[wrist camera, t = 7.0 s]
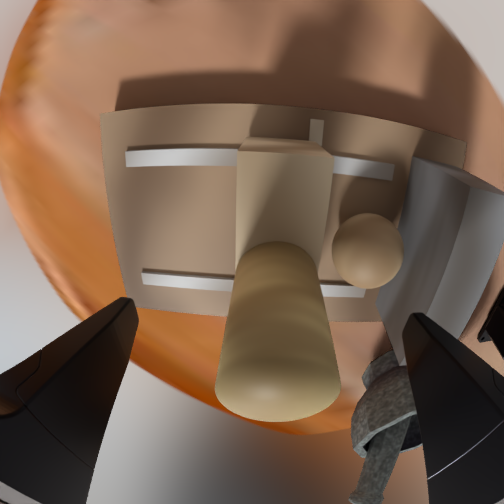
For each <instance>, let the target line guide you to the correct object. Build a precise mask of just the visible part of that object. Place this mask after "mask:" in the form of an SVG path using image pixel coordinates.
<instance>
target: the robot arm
mask: <svg viewBox="0 0 504 504" xmlns="http://www.w3.org/2000/svg"><path fill="white" fill-rule="evenodd" d="M138 323H139V318H138V314H137V310H136V306H135V302H134V300H133V299H132V298H127V297H120V298H119V299H117V300H115V301H114V302H112V303H111V304H109V305H107V306H106V307H104V308H103V309H101V310H100V311H98V312H97V313H95V314H93V315H92V316H90V317H89V318H87V319H86V320H84V321H83V322H81V323H80V324H78V325H76V326H75V327H73V328H72V329H70V330H69V331H68V332H66V333H65V334H63V335H62V336H60V337H58V338H57V339H55V340H54V341H52V342H51V343H49V344H48V345H46V346H45V347H43V348H42V350H41V349H40V350H39V351H37V352H36V353H34V354H33V355H31V356H30V357H28V358H27V359H25V360H24V361H22V362H21V363H19V364H17V365H16V366H14V367H12V368H11V369H9V370H7V371H5V372H3V373H2V374H0V504H86V501H87V497H88V492H89V488H90V484H91V480H92V476H93V472H94V468H95V464H96V461H97V457H98V454H99V450H100V447H101V443H102V439H103V437H104V433H105V430H106V427H107V424H108V421H109V417H110V414H111V411H112V408H113V405H114V402H115V399H116V396H117V393H118V390H119V387H120V385H121V382H122V379H123V376H124V374H125V371H126V368H127V365H128V362H129V358H130V354H131V350H132V346H133V342H134V338H135V335H136V331H137V327H138ZM477 339H478V341H479V342H486V341H493V343H494V345H495V346H496V348H497V350H498V351H499V353H500V355H501V356H502V358H503V359H504V289H503V291H502V293H501V295H500V297H499V299H498V301H497V303H496V305H495V307H494V309H493V311H492V313H491V314H490V316H489V318H488V320H487V322H486V323H485V325H484V327H483V329H482V330H481V332H480V334H479V335H478V337H477ZM402 341H403V346H404V352H405V359H406V365H407V371H408V377H409V381H410V385H411V390H412V394H413V398H414V403H415V407H416V412H417V417H418V422H419V427H420V433H421V439H422V445H423V450H424V458H425V465H426V473H427V479H428V480H427V484H428V494H429V504H504V377H503V376H502V375H501V374H500V373H498V372H497V371H496V370H495V369H494V368H492V367H491V366H490V365H489V364H488V363H486V362H485V361H484V360H483V359H481V358H480V357H479V356H478V355H477V354H475V353H474V352H473V351H472V350H470V349H469V348H468V347H467V346H465V345H464V344H463V343H462V342H460V341H459V340H458V339H456V338H455V337H454V336H453V335H451V334H450V333H449V332H447V331H446V330H445V329H444V328H442V327H441V326H440V325H438V324H437V323H436V322H434V321H433V320H432V319H430V318H429V317H428V316H426V315H425V314H424V313H422V312H413V313H411V314H410V315H409V317H408V320H407V322H406V324H405V326H404V328H403V331H402Z"/></svg>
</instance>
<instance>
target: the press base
mask: <svg viewBox="0 0 504 504" xmlns="http://www.w3.org/2000/svg"><path fill="white" fill-rule="evenodd" d="M100 126H101V142H102V155H103V166H104V175H105V183H106V191H107V199H108V205H109V212H110V218H111V224H112V230H113V235H114V241H115V246H116V251H117V256H118V260H119V265H120V269H121V274H122V278H123V282H124V286H125V290H126V294H127V298H132V299H133V300H134V302H135V306H136V307H139V308H147V309H155V310H163V311H172V312H182V313H191V314H202V315H213V316H226V317H227V316H228V310H229V305H230V299H231V294H232V289H233V283H234V278H235V261H236V186H237V151H238V149H239V148H240V146H241V145H242V143H243V142H244V140H245V139H246V137H264V138H280V139H294V140H305V141H315V142H316V143H318V144H319V145H320V146H321V147H322V148H323V149H325V150H326V151H327V152H328V153H329V154H330V155H332V156H333V157H334V158H335V160H334V168H333V177H332V185H331V192H330V200H329V207H328V214H327V221H326V227H325V233H324V240H323V246H322V252H321V257H320V263H319V269H318V278H319V282H320V286H321V290H322V295H323V299H324V303H325V308H326V312H327V317H328V321H335V322H377V321H382V322H383V324H384V326H385V329H386V331H387V334H388V337H389V339H390V342H391V344H392V347H393V350H394V352H395V355H396V358H397V360H398V363H399V366H403V365H406V359H405V352H404V346H403V341H402V331H403V328H404V326H405V324H406V322H407V320H408V317H409V315H410V314H411V313H413V312H422V313H424V314H425V315H426V316H428V317H429V318H430V319H432V320H433V321H434V322H436V323H437V324H438V325H440V326H441V327H442V328H444V329H445V330H446V331H447V332H449V333H450V334H451V335H453V336H454V337H455V338H456V339H458V338H459V336H460V335H461V333H462V331H463V330H464V328H465V326H466V324H467V322H468V321H469V319H470V317H471V315H472V313H473V311H474V309H475V307H476V305H477V303H478V301H479V299H480V297H481V295H482V293H483V291H484V289H485V287H486V284H487V282H488V280H489V278H490V275H491V273H492V271H493V268H494V266H495V263H496V261H497V258H498V256H499V253H500V250H501V248H502V245H503V242H504V192H503V191H501V190H500V189H498V188H496V187H494V186H493V185H491V184H489V183H487V182H485V181H484V180H482V179H480V178H478V177H476V176H474V175H472V174H470V173H468V172H466V171H464V170H463V164H464V159H465V153H466V147H467V142H465V141H462V140H459V139H456V138H453V137H450V136H446V135H443V134H440V133H436V132H433V131H429V130H426V129H422V128H418V127H414V126H410V125H406V124H402V123H397V122H393V121H388V120H384V119H379V118H374V117H368V116H363V115H357V114H351V113H345V112H338V111H331V110H323V109H315V108H305V107H295V106H282V105H265V104H186V105H170V106H157V107H147V108H137V109H129V110H122V111H115V112H108V113H102V114H100ZM363 213H372V214H377V215H380V216H382V217H384V218H386V219H388V220H389V221H390V222H392V223H393V224H394V225H395V227H396V228H397V229H398V231H399V233H400V235H401V237H402V240H403V245H404V257H403V262H402V265H401V267H400V269H399V271H398V273H397V274H396V275H395V276H394V278H393V279H391V280H390V281H389V282H388V283H386V284H384V285H382V286H380V287H377V288H372V289H364V288H359V287H356V286H353V285H351V284H349V283H348V282H347V281H345V280H344V279H343V278H342V277H341V276H340V275H339V273H338V272H337V270H336V268H335V266H334V263H333V260H332V242H333V239H334V236H335V234H336V232H337V230H338V229H339V227H340V226H341V225H342V224H343V223H344V222H345V221H346V220H348V219H349V218H351V217H353V216H355V215H358V214H363Z"/></svg>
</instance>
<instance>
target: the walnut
mask: <svg viewBox="0 0 504 504" xmlns="http://www.w3.org/2000/svg"><path fill="white" fill-rule="evenodd" d="M403 257H404V245H403V240H402V237H401V235H400V233H399V231H398V229H397V228H396V227H395V225H394V224H393V223H392V222H390V221H389V220H388V219H386V218H384V217H382V216H380V215H377V214H372V213H363V214H358V215H355V216H353V217H351V218H349V219H348V220H346V221H345V222H344V223H343V224H342V225H341V226H340V227H339V229H338V230H337V232H336V234H335V236H334V239H333V242H332V260H333V263H334V266H335V268H336V270H337V272H338V273H339V275H340V276H341V277H342V278H343V279H344V280H345V281H347V282H348V283H349V284H351V285H353V286H356V287H359V288H364V289H372V288H377V287H380V286H382V285H384V284H386V283H388V282H389V281H390V280H391V279H393V278H394V276H395V275H396V274H397V273H398V271H399V269H400V267H401V265H402V262H403Z"/></svg>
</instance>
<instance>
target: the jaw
mask: <svg viewBox="0 0 504 504" xmlns="http://www.w3.org/2000/svg"><path fill="white" fill-rule="evenodd" d="M334 160H335V158H334V157H333V156H332V155H330V154H329V153H328V152H327V151H326V150H325V149H323V148H322V147H321V146H320V145H319V144H318V143H316V142H315V141H305V140H294V139H280V138H264V137H246V139H245V140H244V142H243V143H242V145H241V146H240V148H239V149H238V151H237V186H236V261H235V278H234V283H233V289H232V294H231V299H230V305H229V310H228V316H227V321H226V327H225V332H224V338H223V344H222V349H221V355H220V361H219V366H218V372H217V378H216V383H215V393H216V396H217V398H218V400H219V401H220V402H221V403H222V404H223V405H224V406H225V407H226V408H227V409H229V410H230V411H232V412H234V413H236V414H238V415H240V416H243V417H246V418H250V419H254V420H259V421H268V422H283V421H292V420H298V419H302V418H306V417H309V416H312V415H314V414H316V413H319V412H320V411H322V410H324V409H325V408H327V407H328V406H330V405H331V404H332V403H333V402H334V401H335V400H336V398H337V397H338V395H339V393H340V390H341V382H340V376H339V371H338V366H337V360H336V355H335V350H334V345H333V340H332V335H331V331H330V326H329V321H328V317H327V312H326V308H325V303H324V299H323V295H322V290H321V286H320V282H319V278H318V269H319V263H320V257H321V252H322V246H323V240H324V233H325V227H326V221H327V214H328V207H329V200H330V192H331V185H332V177H333V168H334Z"/></svg>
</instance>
